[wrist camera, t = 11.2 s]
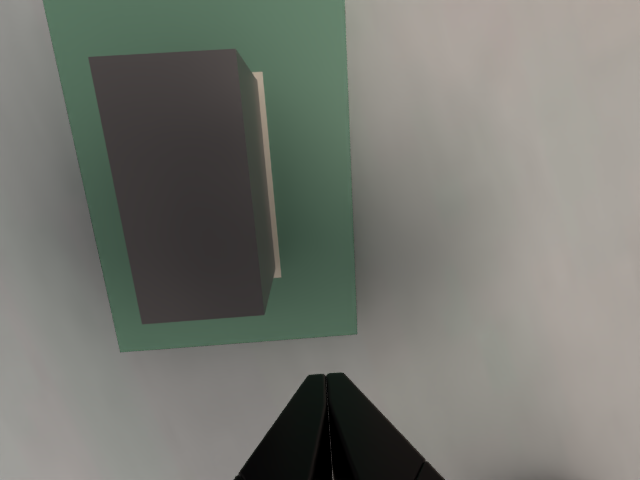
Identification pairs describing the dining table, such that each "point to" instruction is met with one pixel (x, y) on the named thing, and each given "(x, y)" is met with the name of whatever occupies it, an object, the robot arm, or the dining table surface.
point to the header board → (279, 148)
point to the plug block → (189, 181)
